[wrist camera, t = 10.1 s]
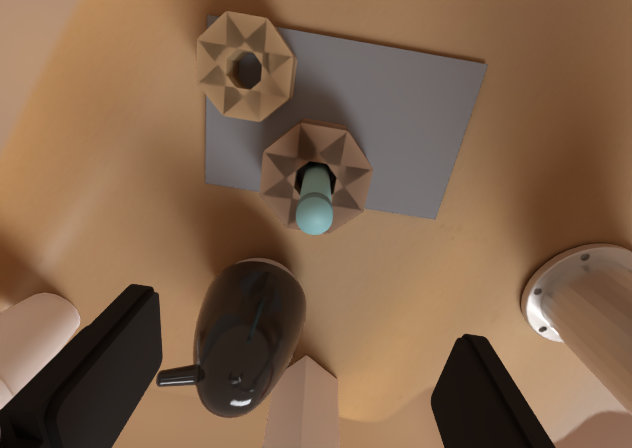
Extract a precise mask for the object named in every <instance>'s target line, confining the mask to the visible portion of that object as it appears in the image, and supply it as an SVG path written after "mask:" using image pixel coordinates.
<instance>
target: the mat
mask: <svg viewBox="0 0 632 448" xmlns="http://www.w3.org/2000/svg"><path fill="white" fill-rule="evenodd" d="M218 18H219V17H218V16H212V15H207V29H208V28H209V27H210V26H211V25H212V24H213V23H214V22H215V21H216V20H217V19H218ZM276 28H277V30H278V31H279V33H280V34H281V36H282V37H283V39H284V40H285V42H286V43H287V45H288V46H289V48H290V49H291V51H292V52H293V54H294V55H295V57H296V58H297V68H296V76H295V85H294V93H293V98H291V99H290V100H289V101H288V102H286V103H285V104H284V105H283V106H281V107H280V108H279V109H278V110H276V111H275V112H274V113H273V114H271V115H270V116H269V117H268V118H266V119H264V120H262V121H260V122H256V121H250V120H244V119H238V118H232V117H226V116H224V115H222V114H221V113H220V112H219V110H218V109H217V108H216V107H215V105H214V104H213V103H212V102H211V100H210V99H209V98H208V97H207V95H206V155H205V183H207V184H213V185H219V186H226V187H232V188H238V189H245V190H251V191H257V192H260V182H261V170H262V159H263V152H264V150H265V149H266V148H267V147H268V146H269V145H270V144H271V143H272V142H273V141H274V140H276V139H277V138H278V137H280V136H281V135H282V134H283V133H285V132H286V131H287V130H289V129H290V128H291V127H292V126H294V125H295V124H296V123H298V122H299V121H300V120H302V119H304V118H307V119H313V120H319V121H325V122H331V123H337V124H343V125H345V126H346V127H347V129H348V130H349V132H350V133H351V135H352V136H353V138H354V139H355V141H356V142H357V144H358V145H359V147H360V148H361V150H362V151H363V153H364V154H365V156H366V157H367V159H368V161H369V163H370V164H371V166H372V168H373V173H372V178H371V182H370V186H369V190H368V194H367V199H366V203H365V207H364V208H365V209H371V210H378V211H384V212H390V213H397V214H403V215H409V216H416V217H422V218H428V219H436V216H437V213H438V210H439V207H440V204H441V201H442V198H443V195H444V192H445V190H446V187H447V184H448V181H449V178H450V175H451V172H452V169H453V166H454V163H455V160H456V157H457V154H458V151H459V148H460V146H461V143H462V140H463V137H464V134H465V131H466V128H467V125H468V122H469V119H470V116H471V113H472V110H473V107H474V104H475V102H476V99H477V96H478V93H479V90H480V87H481V84H482V81H483V78H484V75H485V72H486V69H487V66H488V64H483V63H477V62H471V61H466V60H460V59H454V58H449V57H443V56H437V55H432V54H426V53H421V52H415V51H409V50H404V49H398V48H392V47H387V46H381V45H375V44H370V43H364V42H359V41H353V40H347V39H342V38H336V37H330V36H325V35H319V34H313V33H308V32H302V31H297V30H291V29H285V28H280V27H276ZM261 73H262V64H261V63H260V61H259V60H258V58H257V57H256V56H255V54H247V55H246V56H245V57H244V58H243V59H242V60H241V61H240V62H239V73H238V76H239V78H240V79H241V80H242V82H243V83H244V84H245V86H246V87H247V88H253V87H254V86H255V85H257V84H258V83H259V82H260V81H261ZM307 164H308V163H306V164H305V165H304V166H302V167H301V168H299V169H298V176H299V177H300V179H301V180H302V181H303V179H304V174H305V169H306V165H307ZM328 167H329V166H328ZM329 177H330V182H331V181H333V177H334V173H333V172H332V170H331V169H330V167H329Z"/></svg>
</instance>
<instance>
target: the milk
mask: <svg viewBox="0 0 632 448" xmlns="http://www.w3.org/2000/svg"><path fill="white" fill-rule="evenodd" d="M262 448H340V435H339V408H338V382H337V379H336V378H335V377H334V376H332V375H331V374H330V373H329V372H327V371H326V370H325V369H324V368H322V367H321V366H320V365H319V364H317V363H316V362H315V361H314V360H312V359H311V358H310V357H309V356H307V355H306V356H304V357H303V358H301V359H300V360H298V361H297V362H295V363H294V364H293V365H291V366H290V367H288V368H287V369H286V370H285V372H284V373H283V375H282V377H281V378H280V380H279V381H278V383H277V384H276V386H275V387H274V388H273V390H272V396H271V402H270V407H269V413H268V419H267V424H266V430H265V436H264V442H263V447H262Z"/></svg>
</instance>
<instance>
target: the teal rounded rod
mask: <svg viewBox="0 0 632 448" xmlns="http://www.w3.org/2000/svg"><path fill="white" fill-rule="evenodd" d="M332 220H333V206H332V202H331V190H330V177H329V167H328V165H327V164H325V163H319V162H312V161H309V162H308V164H307V165H306V169H305V174H304V179H303V183H302V188H301V193H300V198H299V202H298V204H297V208H296V222H297V225H298V227H299V228H300V229H301V230H302V231H304V232H305V233H307V234H311V235H317V234H321V233H323V232H325V231H327V230H328V229H329V227H330V226H331V224H332Z"/></svg>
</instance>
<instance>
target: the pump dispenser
mask: <svg viewBox="0 0 632 448" xmlns="http://www.w3.org/2000/svg"><path fill="white" fill-rule="evenodd" d="M305 316H306V298H305V294H304V292H303V289H302V288H301V286H300V284H299V283H298V281H297V279H296V277H295V276H294V275H293V274H292V272H291V271H290V270H288V269H287V268H286V267H285V266H283V265H282V264H280V263H278V262H276V261H273V260H270V259H266V258H250V259H245V260H242V261H240V262H237V263H235V264H233V265H231V266H229V267H227V268H225V269H224V270H222V271H221V272H220V273H219V274H218V275H217V276H216V277H215V278H214V280H213V281H212V283H211V284H210V286H209V288H208V290H207V292H206V295H205V297H204V300H203V303H202V306H201V309H200V312H199V315H198V319H197V323H196V329H195V335H194V343H193V365H189V366H183V367H178V368H172V369H167V370H162V371H160V372H159V373H158V374H157V378H156V384H157V386H158V387H166V386H185V385H195V386H196V388H197V392H198V395H199V398H200V400H201V402H202V404H203V405H204V407H205V408H206V409H207V410H208V411H209V412H211V413H213V414H214V415H217V416H220V417H223V418H236V417H240V416H243V415H246V414H248V413H249V412H251V411H252V410H254V409H255V408H256V407H257V406H258V405H259V404H260V403H261V402H262V401H263V400H264V399H265V398H266V397H267V396H268V395H269V394H270V392H271V391H272V390H273V388H274V387H275V386H276V384H277V383H278V381H279V380H280V378H281V377H282V375H283V373H284V372H285V370H286V368H287V367H288V365H289V363H290V361H291V359H292V357H293V355H294V352H295V350H296V348H297V345H298V342H299V339H300V336H301V333H302V329H303V326H304V322H305Z"/></svg>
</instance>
